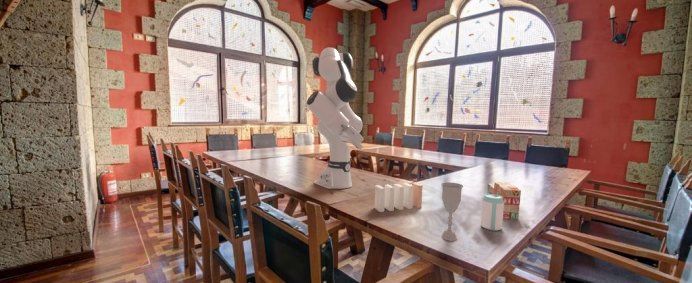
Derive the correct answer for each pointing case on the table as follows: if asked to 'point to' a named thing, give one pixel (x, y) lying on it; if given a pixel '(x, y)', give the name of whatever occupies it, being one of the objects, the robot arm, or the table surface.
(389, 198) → the domino
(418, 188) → the domino
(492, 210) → the can
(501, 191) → the stack of blocks
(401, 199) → the domino
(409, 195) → the domino
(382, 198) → the domino
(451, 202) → the chalice
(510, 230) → the table surface
